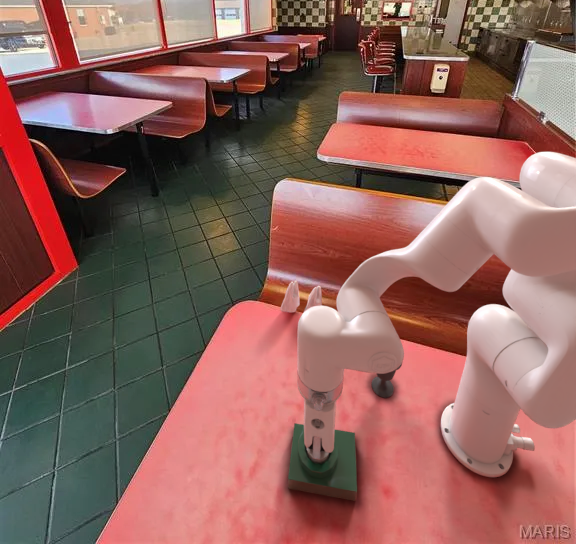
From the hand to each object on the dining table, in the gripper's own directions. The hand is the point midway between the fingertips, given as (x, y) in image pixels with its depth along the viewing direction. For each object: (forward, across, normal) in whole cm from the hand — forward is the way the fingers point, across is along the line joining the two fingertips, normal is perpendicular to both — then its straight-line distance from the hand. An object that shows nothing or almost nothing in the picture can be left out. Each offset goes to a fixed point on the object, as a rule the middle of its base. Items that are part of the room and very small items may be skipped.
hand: (317, 445), depth 60 cm
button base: (+6, 0, -1) cm, 6 cm away
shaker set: (+6, +36, +7) cm, 37 cm away
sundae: (+6, +16, -14) cm, 23 cm away
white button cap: (+2, 0, 0) cm, 2 cm away
